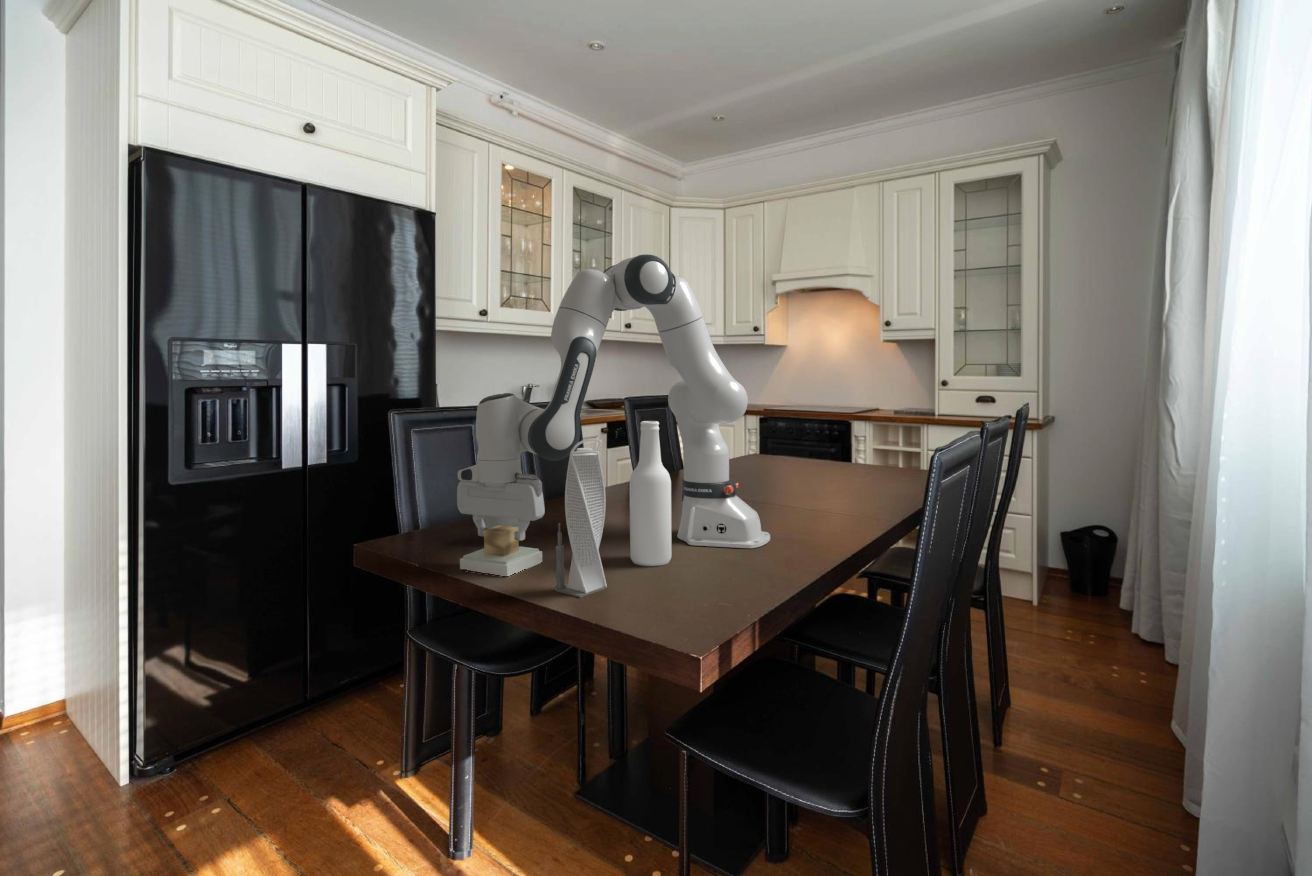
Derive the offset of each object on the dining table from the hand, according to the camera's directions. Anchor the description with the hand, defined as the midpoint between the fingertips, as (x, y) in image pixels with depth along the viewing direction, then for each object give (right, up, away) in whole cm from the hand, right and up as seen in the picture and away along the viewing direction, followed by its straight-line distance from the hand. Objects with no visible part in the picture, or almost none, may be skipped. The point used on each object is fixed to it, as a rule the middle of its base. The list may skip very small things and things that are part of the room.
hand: (501, 537), depth 143 cm
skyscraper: (+19, -8, -15) cm, 26 cm away
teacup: (-5, -4, +24) cm, 24 cm away
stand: (0, -6, +1) cm, 6 cm away
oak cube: (0, -3, 0) cm, 3 cm away
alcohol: (+31, -6, +3) cm, 32 cm away
